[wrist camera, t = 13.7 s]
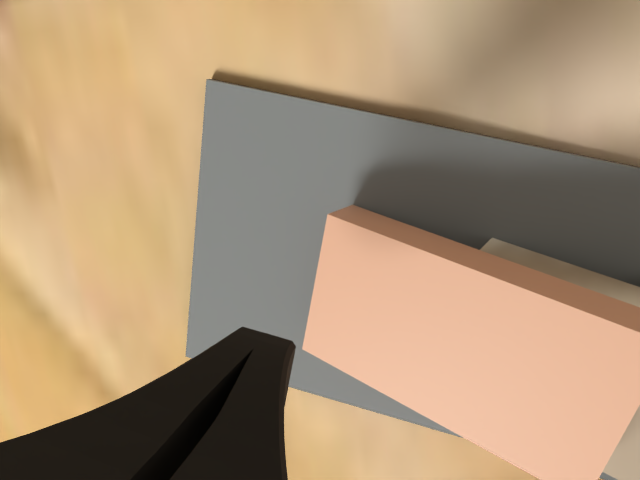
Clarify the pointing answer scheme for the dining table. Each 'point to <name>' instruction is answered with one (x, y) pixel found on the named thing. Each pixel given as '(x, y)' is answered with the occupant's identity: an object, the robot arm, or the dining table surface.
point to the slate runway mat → (379, 197)
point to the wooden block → (636, 443)
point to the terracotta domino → (477, 343)
